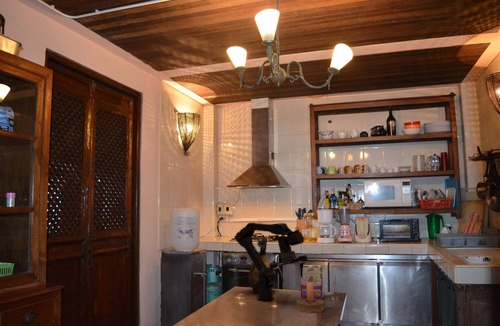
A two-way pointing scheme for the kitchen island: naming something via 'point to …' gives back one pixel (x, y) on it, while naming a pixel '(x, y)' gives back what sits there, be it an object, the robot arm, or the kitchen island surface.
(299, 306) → the wooden bowl
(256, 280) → the ceramic jug
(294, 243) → the robot arm
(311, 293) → the dowel
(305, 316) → the kitchen island surface
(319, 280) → the candy bar box
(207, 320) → the kitchen island surface
